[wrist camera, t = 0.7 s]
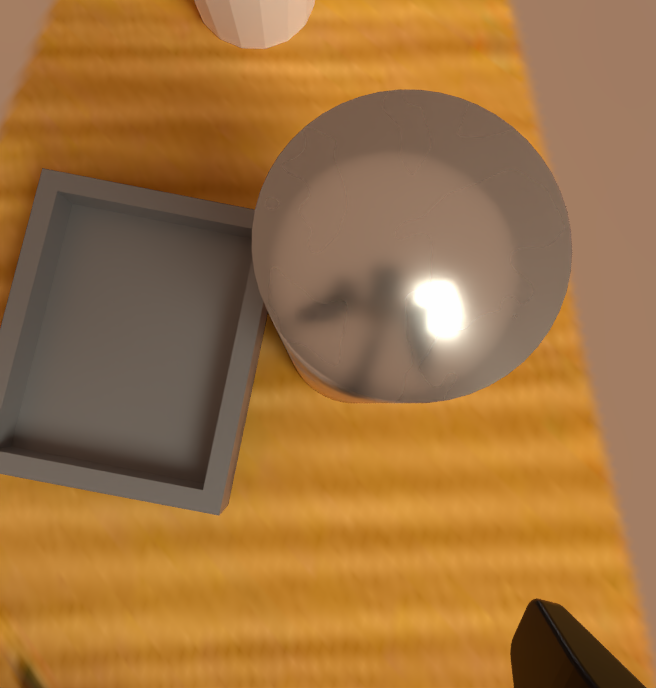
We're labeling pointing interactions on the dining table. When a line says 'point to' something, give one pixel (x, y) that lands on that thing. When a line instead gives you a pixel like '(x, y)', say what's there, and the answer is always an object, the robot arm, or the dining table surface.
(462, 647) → the dining table surface
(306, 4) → the white cup
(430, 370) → the silver metal cylinder
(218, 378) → the tray
